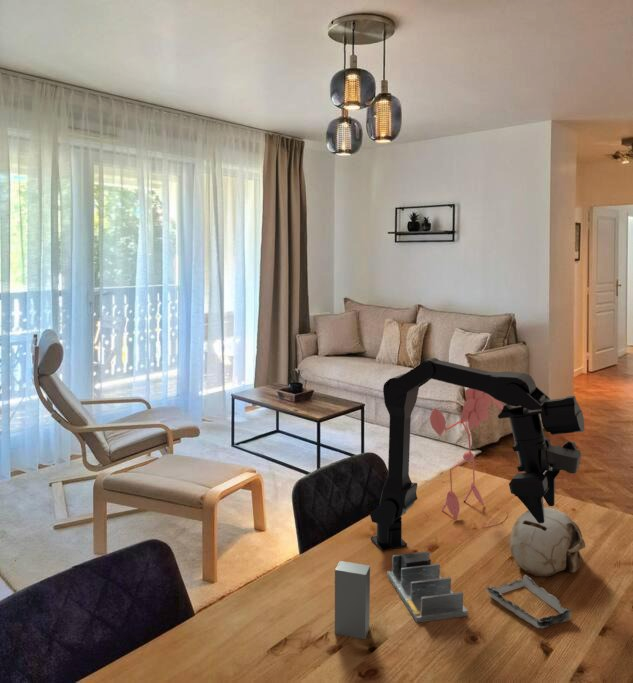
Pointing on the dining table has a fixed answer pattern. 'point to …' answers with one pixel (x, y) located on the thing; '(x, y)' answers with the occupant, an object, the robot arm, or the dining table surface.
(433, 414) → the figurine
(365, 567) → the block
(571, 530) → the coin bank
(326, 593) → the dining table surface
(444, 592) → the rack
